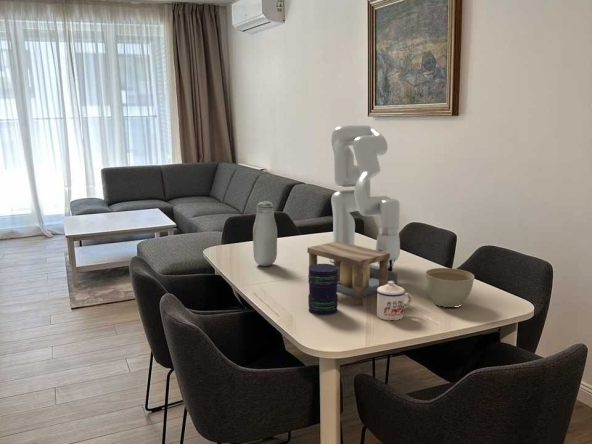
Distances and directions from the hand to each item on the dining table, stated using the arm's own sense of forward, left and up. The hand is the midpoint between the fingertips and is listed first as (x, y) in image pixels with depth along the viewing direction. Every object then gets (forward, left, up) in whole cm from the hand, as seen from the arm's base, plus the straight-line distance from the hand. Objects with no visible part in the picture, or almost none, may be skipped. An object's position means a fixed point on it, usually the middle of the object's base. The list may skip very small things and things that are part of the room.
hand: (387, 276), depth 223 cm
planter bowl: (+6, +32, -2) cm, 32 cm away
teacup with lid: (+29, +27, -2) cm, 39 cm away
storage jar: (+43, +8, -2) cm, 43 cm away
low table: (+23, 0, -2) cm, 23 cm away
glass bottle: (+22, -50, -2) cm, 55 cm away
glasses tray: (+13, 0, -2) cm, 13 cm away
